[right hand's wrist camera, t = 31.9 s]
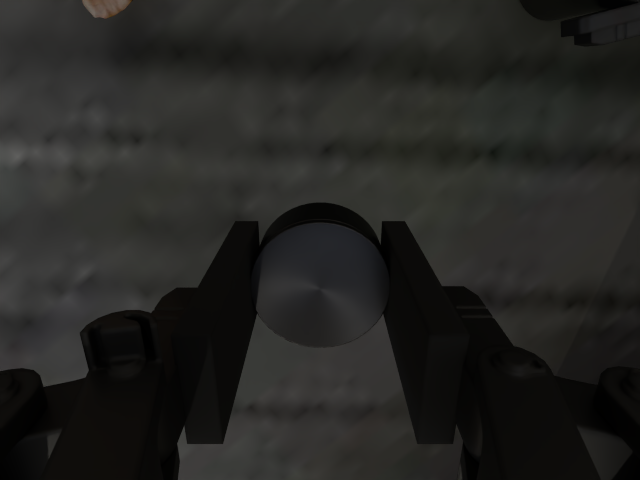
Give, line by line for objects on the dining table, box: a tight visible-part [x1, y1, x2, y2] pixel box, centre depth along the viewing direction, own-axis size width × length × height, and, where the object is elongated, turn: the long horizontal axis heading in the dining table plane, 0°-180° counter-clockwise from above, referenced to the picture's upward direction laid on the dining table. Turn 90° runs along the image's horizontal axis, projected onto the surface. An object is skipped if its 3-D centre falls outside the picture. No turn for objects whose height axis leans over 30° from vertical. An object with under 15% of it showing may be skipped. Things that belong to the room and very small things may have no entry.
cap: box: [250, 203, 390, 348], centre depth 13 cm, size 4×4×2 cm
